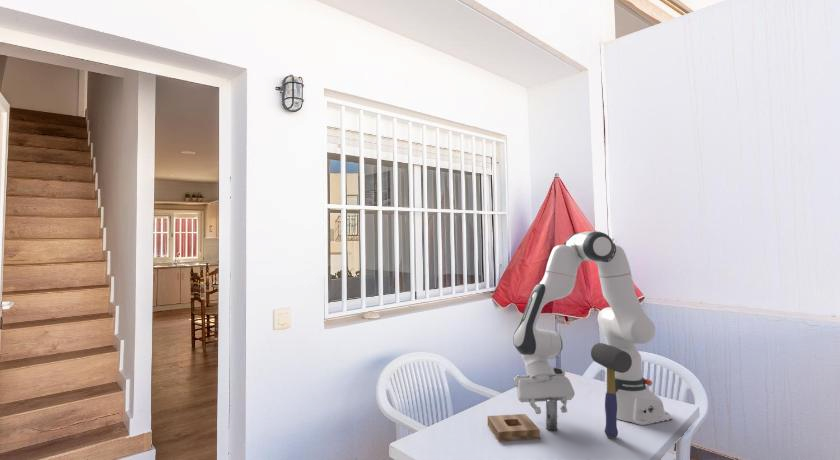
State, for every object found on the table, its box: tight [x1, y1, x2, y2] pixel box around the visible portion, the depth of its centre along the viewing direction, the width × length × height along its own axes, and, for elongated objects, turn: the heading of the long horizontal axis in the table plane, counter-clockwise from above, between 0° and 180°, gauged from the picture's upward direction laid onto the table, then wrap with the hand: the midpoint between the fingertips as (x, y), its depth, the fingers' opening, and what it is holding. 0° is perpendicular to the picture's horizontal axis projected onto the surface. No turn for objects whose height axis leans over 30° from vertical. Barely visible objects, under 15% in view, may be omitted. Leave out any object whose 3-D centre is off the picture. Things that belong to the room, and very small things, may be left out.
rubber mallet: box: [590, 342, 632, 439], centre depth 135 cm, size 12×8×30 cm, turn 14°
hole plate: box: [487, 413, 541, 442], centre depth 139 cm, size 14×12×3 cm
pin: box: [545, 398, 558, 432], centre depth 140 cm, size 4×4×10 cm
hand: (551, 412), depth 140 cm, fingers open, 8 cm apart
